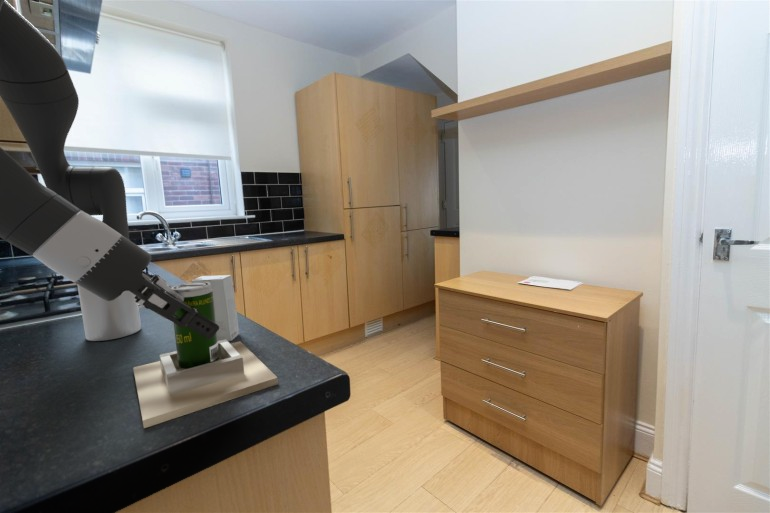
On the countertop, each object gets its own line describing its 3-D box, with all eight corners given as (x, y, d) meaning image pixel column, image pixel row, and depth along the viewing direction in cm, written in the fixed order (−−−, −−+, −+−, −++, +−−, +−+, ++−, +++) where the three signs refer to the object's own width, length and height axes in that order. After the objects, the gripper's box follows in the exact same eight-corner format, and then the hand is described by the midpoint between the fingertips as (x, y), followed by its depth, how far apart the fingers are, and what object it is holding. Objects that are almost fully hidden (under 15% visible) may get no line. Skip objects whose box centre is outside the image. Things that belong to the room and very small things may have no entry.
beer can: (224, 356, 57) (217, 280, 55) (212, 372, 52) (203, 289, 50) (188, 359, 57) (179, 282, 55) (171, 375, 51) (161, 291, 49)
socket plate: (134, 373, 57) (131, 352, 56) (240, 346, 66) (238, 327, 66) (143, 428, 43) (139, 400, 42) (277, 384, 52) (276, 360, 52)
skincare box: (240, 333, 73) (234, 273, 71) (230, 342, 69) (224, 278, 67) (209, 334, 73) (202, 274, 71) (197, 343, 69) (190, 279, 67)
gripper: (121, 236, 41) (241, 317, 50) (117, 230, 53) (216, 297, 61) (66, 291, 39) (202, 366, 48) (75, 272, 50) (183, 335, 59)
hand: (209, 327), depth 54 cm, fingers closed on beer can, 5 cm apart
